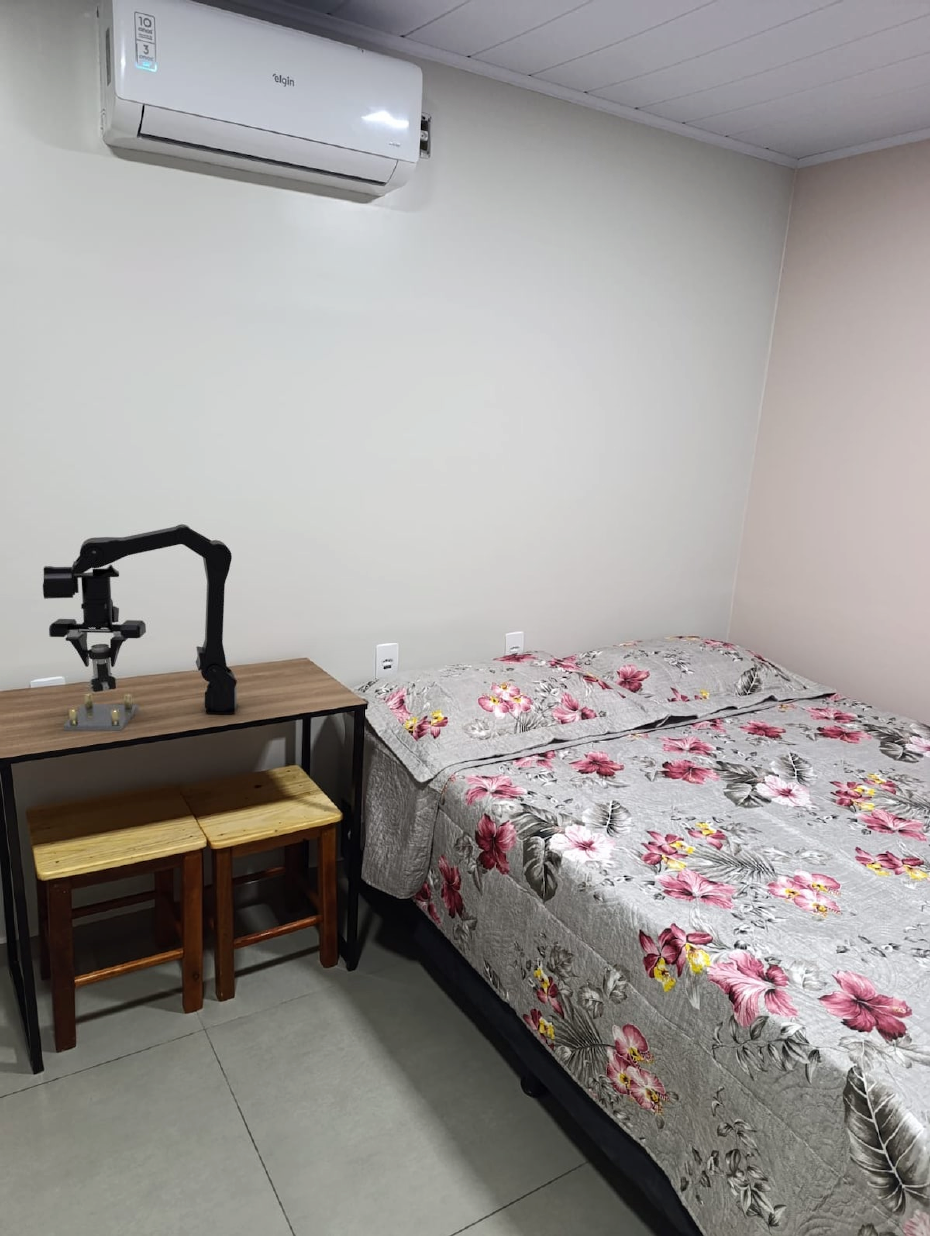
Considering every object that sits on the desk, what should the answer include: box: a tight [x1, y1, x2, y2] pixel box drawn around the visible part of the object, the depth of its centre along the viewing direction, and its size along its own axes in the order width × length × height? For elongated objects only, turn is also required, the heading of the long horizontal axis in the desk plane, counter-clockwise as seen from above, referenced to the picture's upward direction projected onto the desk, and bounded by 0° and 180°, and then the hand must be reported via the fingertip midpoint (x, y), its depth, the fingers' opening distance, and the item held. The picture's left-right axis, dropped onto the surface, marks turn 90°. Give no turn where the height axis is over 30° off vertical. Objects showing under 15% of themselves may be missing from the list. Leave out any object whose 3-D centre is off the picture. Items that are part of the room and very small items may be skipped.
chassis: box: [62, 692, 139, 732], centre depth 190 cm, size 12×14×4 cm
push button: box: [83, 643, 117, 693], centre depth 188 cm, size 7×5×10 cm
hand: (100, 666), depth 188 cm, fingers closed on push button, 5 cm apart
